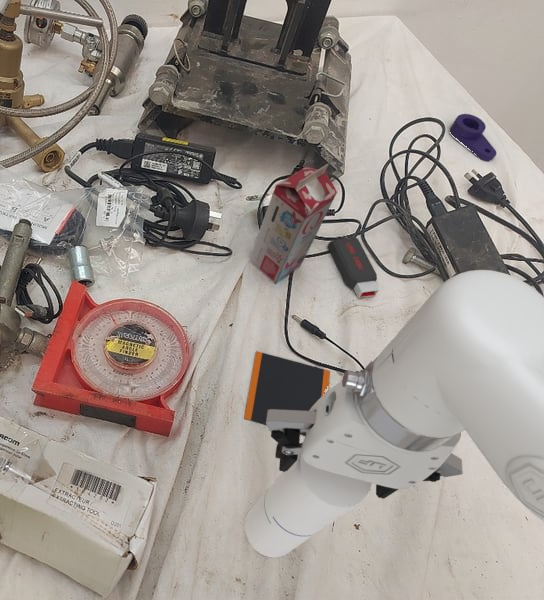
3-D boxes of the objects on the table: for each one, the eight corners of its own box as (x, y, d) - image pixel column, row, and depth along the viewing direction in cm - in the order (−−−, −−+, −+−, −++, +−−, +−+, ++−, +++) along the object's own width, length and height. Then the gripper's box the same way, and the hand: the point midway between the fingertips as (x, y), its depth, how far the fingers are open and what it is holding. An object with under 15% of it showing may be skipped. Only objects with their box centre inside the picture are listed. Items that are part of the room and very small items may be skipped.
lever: (443, 128, 129) (450, 117, 127) (464, 123, 131) (472, 111, 128) (479, 164, 123) (487, 152, 121) (501, 157, 125) (510, 146, 122)
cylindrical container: (271, 569, 75) (340, 523, 54) (233, 524, 77) (285, 463, 57) (307, 533, 77) (386, 475, 57) (269, 491, 80) (331, 421, 60)
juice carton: (300, 266, 104) (345, 175, 85) (275, 284, 101) (315, 194, 83) (273, 243, 106) (311, 150, 88) (248, 260, 103) (282, 168, 85)
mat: (323, 440, 85) (323, 440, 85) (244, 418, 86) (244, 418, 86) (329, 371, 92) (330, 370, 92) (256, 351, 93) (256, 350, 93)
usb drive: (352, 243, 108) (358, 233, 105) (379, 296, 101) (386, 286, 99) (326, 246, 107) (332, 236, 104) (352, 299, 100) (358, 290, 98)
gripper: (292, 414, 42) (240, 483, 56) (534, 477, 41) (418, 532, 55) (301, 329, 46) (251, 413, 60) (521, 384, 45) (417, 457, 59)
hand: (331, 469), depth 57 cm, fingers open, 9 cm apart
